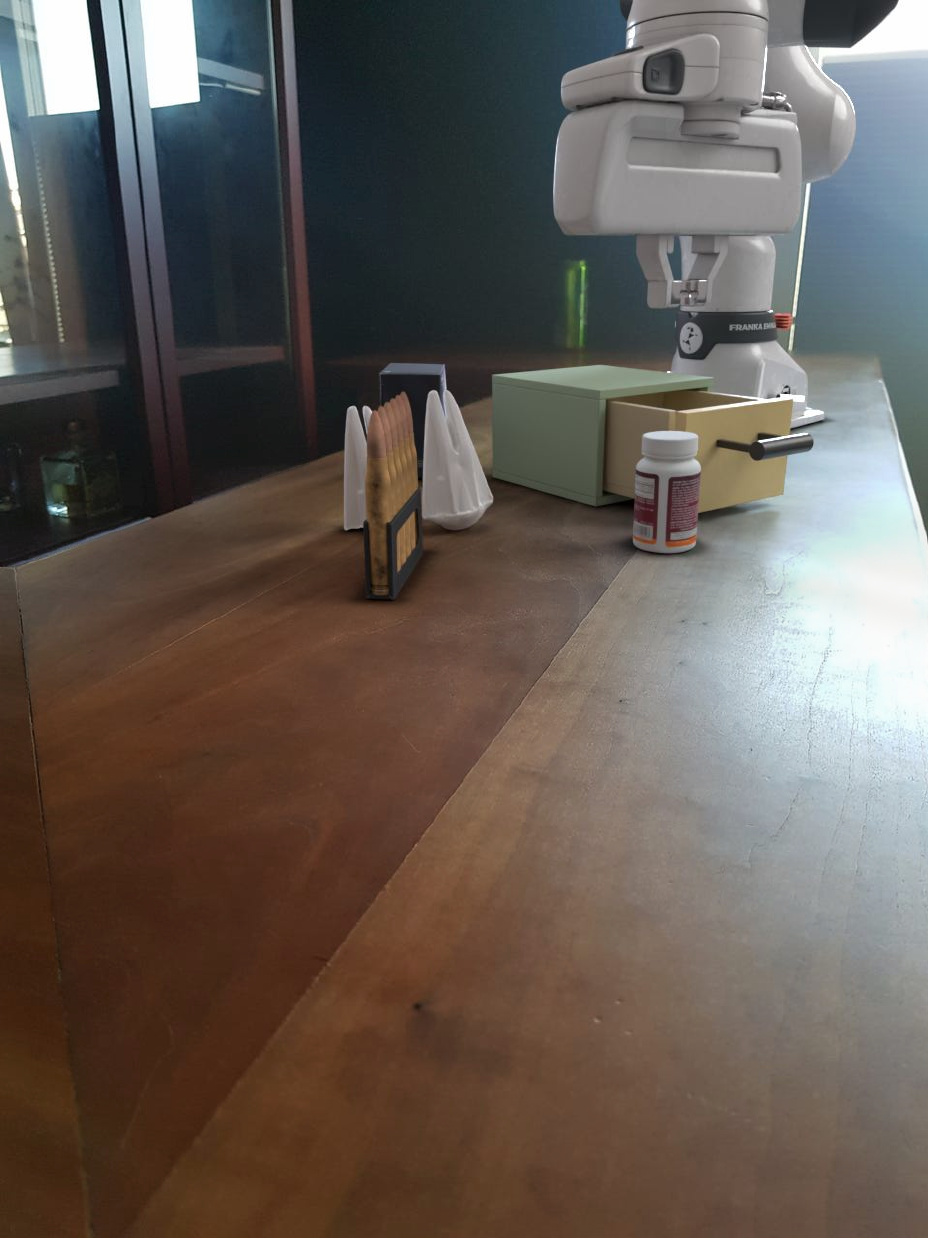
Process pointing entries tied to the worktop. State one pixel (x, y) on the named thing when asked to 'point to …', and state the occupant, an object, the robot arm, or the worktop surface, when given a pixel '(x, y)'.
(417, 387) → the small box
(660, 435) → the pill bottle
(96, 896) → the worktop surface
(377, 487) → the ammunition clip
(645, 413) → the drawer
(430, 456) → the shaker set
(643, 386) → the cabinet
